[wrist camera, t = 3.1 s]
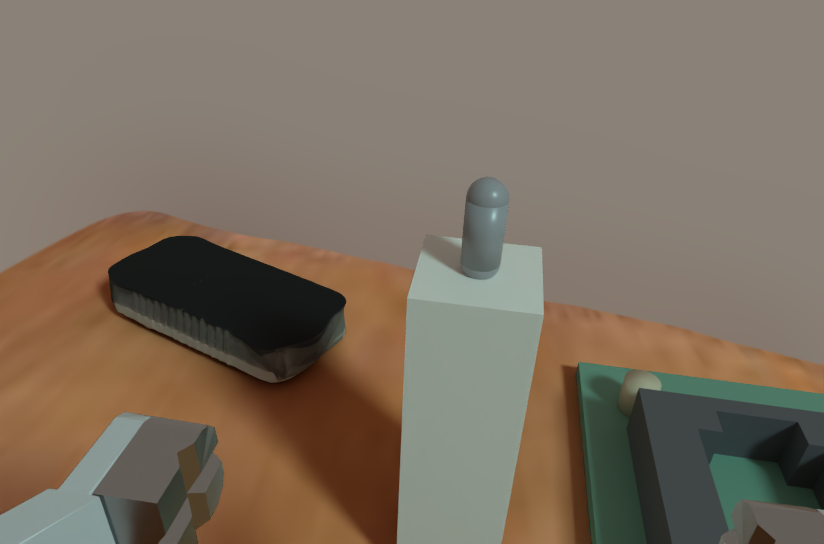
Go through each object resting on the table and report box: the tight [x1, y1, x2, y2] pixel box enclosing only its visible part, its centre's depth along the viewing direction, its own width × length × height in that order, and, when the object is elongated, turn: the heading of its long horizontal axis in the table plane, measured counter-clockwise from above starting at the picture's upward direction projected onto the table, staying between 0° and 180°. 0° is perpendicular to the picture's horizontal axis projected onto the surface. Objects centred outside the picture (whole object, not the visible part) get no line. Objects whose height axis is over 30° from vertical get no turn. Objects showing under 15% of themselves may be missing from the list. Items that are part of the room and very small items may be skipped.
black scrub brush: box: [108, 236, 346, 383], centre depth 43 cm, size 16×8×4 cm, turn 60°
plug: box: [397, 177, 544, 544], centre depth 26 cm, size 5×4×18 cm
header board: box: [576, 362, 824, 544], centre depth 29 cm, size 22×16×4 cm
